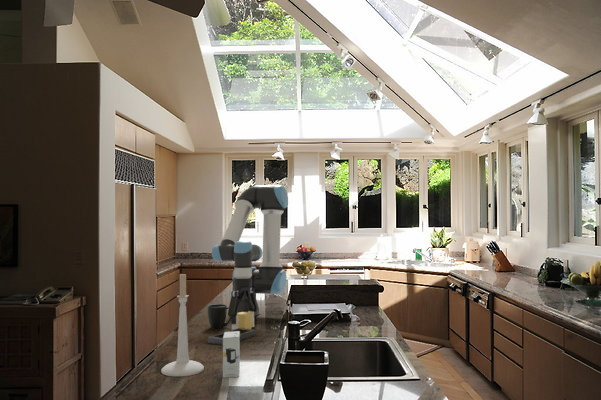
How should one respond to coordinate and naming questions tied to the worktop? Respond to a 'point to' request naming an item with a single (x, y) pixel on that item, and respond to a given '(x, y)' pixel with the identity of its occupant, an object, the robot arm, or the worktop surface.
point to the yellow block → (244, 320)
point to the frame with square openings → (243, 332)
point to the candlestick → (182, 342)
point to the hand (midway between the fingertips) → (243, 329)
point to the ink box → (231, 354)
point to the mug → (217, 316)
